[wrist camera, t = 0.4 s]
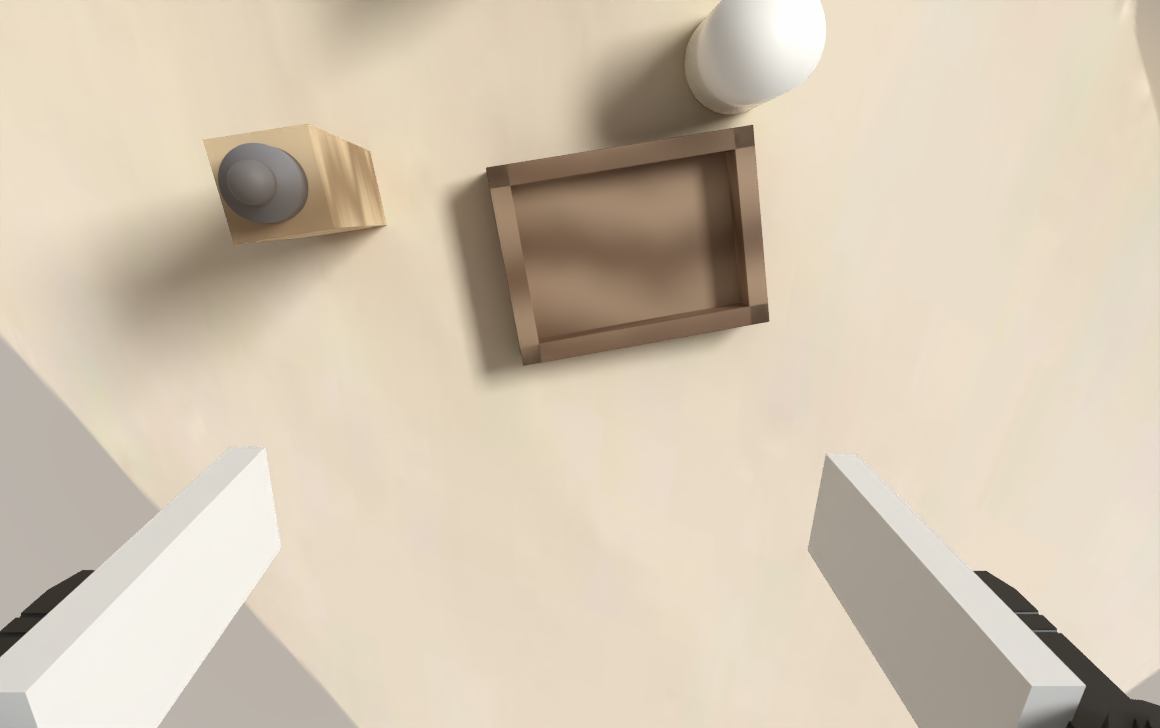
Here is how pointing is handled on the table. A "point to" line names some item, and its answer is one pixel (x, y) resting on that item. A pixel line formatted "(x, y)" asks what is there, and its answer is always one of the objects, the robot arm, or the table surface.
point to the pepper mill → (293, 184)
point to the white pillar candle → (753, 52)
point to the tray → (632, 243)
